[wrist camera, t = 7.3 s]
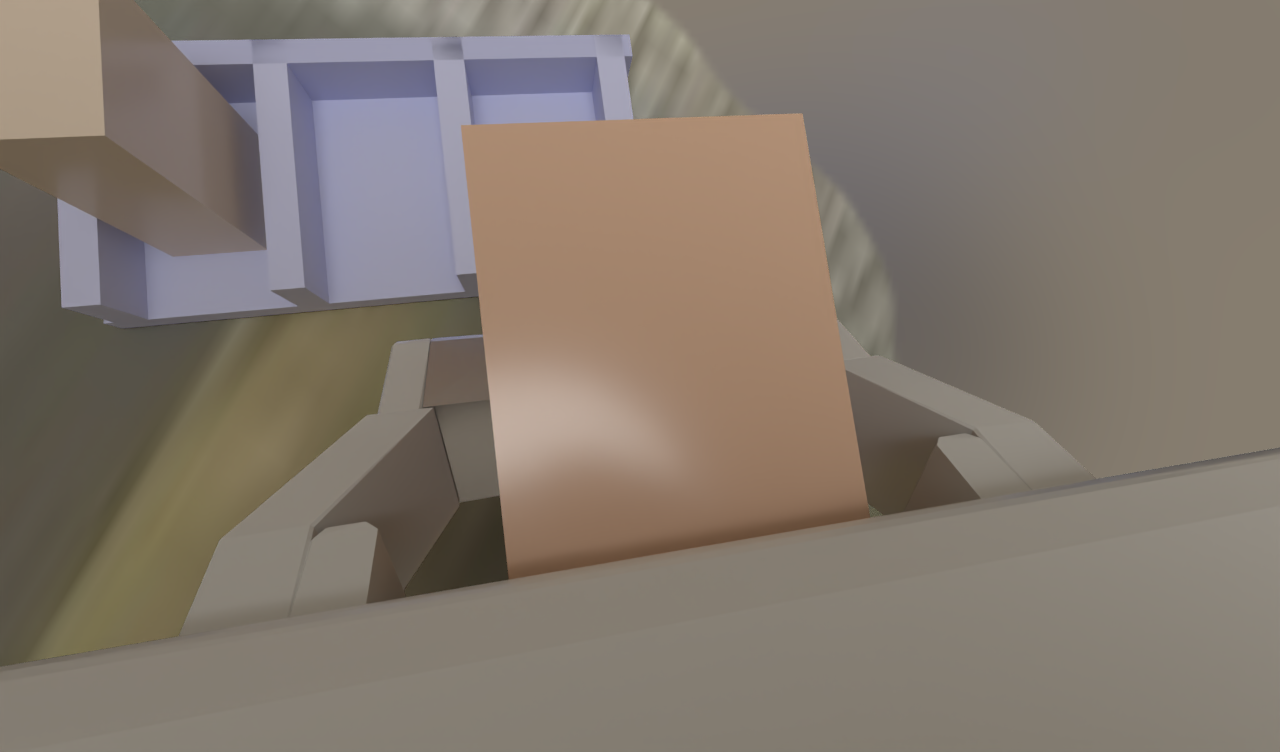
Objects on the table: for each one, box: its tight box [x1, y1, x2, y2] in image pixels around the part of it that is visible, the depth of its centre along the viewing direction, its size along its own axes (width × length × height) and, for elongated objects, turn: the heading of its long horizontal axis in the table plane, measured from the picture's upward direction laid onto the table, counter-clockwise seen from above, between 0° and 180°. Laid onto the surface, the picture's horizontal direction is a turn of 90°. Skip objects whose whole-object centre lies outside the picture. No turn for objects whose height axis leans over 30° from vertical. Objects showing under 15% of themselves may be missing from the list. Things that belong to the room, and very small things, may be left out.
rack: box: [57, 35, 633, 329], centre depth 24 cm, size 22×10×4 cm, turn 98°
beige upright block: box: [0, 0, 267, 257], centre depth 19 cm, size 4×5×9 cm
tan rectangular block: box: [461, 114, 870, 579], centre depth 10 cm, size 4×5×9 cm
